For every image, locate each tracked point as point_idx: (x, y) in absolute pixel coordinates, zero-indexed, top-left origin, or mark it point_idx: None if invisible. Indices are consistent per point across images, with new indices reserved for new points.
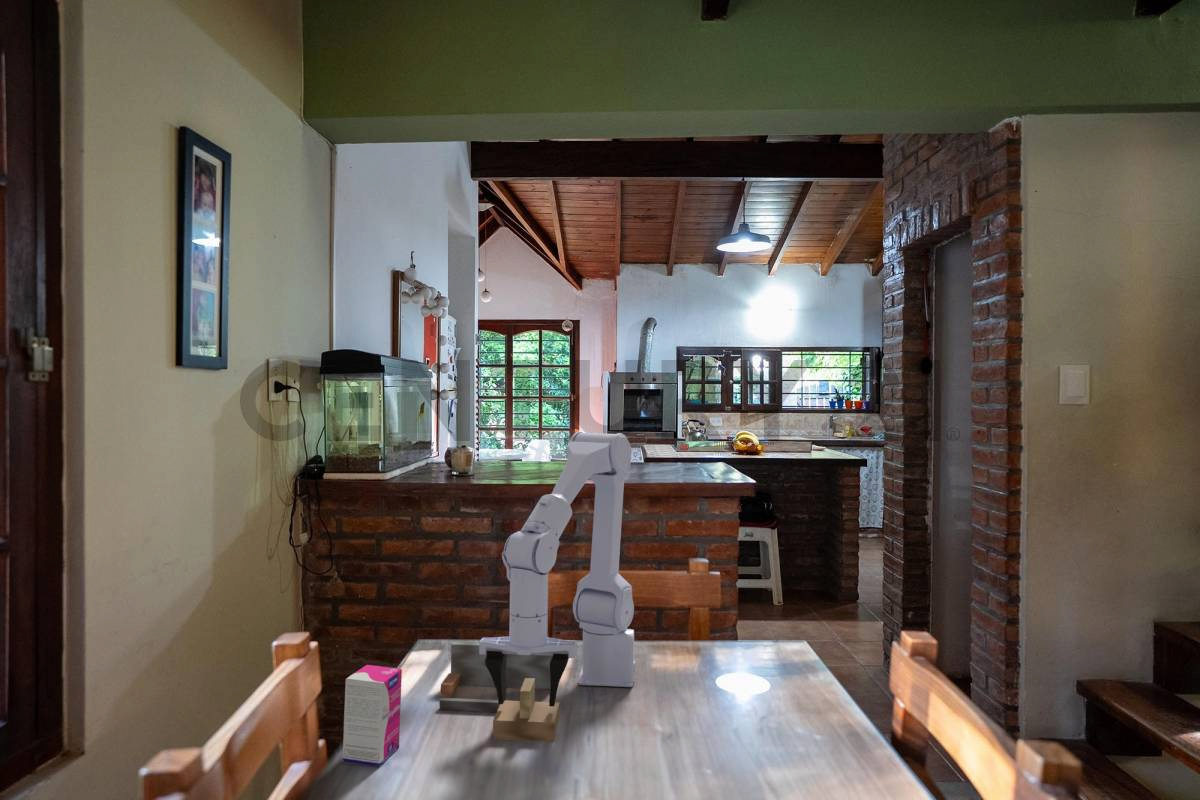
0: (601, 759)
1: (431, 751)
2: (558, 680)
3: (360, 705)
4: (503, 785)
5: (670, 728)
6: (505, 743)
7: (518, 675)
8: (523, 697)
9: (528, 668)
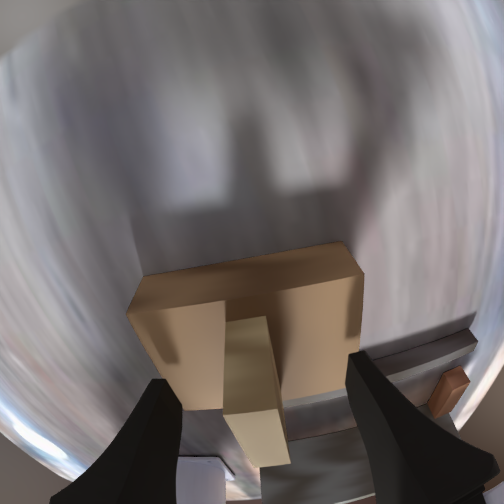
0: (6, 218)
1: (474, 134)
2: (98, 460)
3: None
4: None
5: (5, 358)
6: (291, 223)
7: (331, 453)
8: (255, 385)
9: (313, 470)
